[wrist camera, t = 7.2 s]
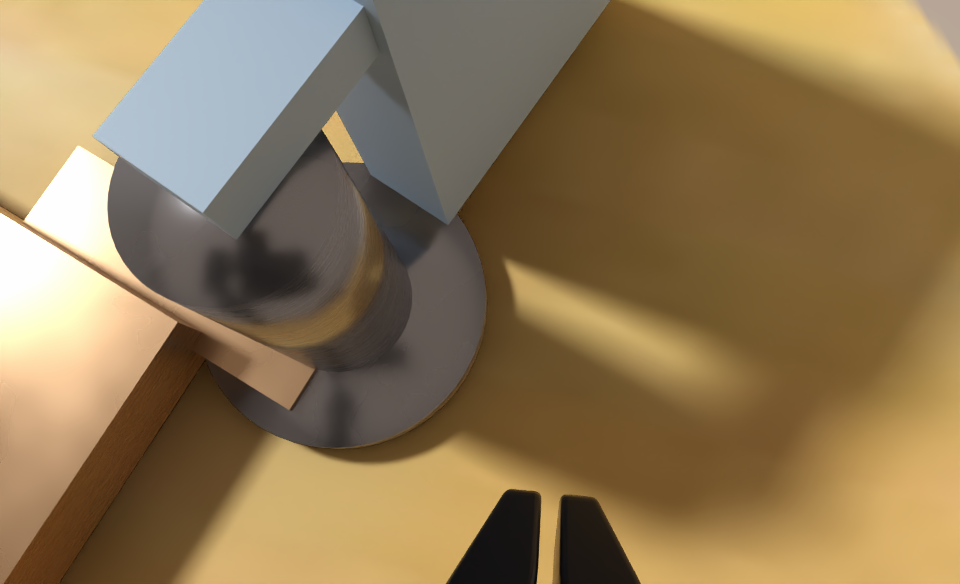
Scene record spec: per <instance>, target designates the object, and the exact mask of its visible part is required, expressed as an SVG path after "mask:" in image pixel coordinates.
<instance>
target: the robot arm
mask: <svg viewBox="0 0 960 584" xmlns="http://www.w3.org/2000/svg"><path fill="white" fill-rule="evenodd" d="M540 517H541V495H540V494H539V493H538V492H536V491H526V490H516V489H509V490H507V491H506V492H505V493H504V494H503V495H502V497H501V498H500V500H499V501H498V503H497V505H496V506H495V508H494V509H493V511H492V512H491V514H490V515H489V517H488V519H487V520H486V522H485V523H484V525H483V526H482V528H481V530H480V531H479V533H478V534H477V536H476V537H475V539H474V540H473V542H472V544H471V545H470V547H469V548H468V550H467V551H466V553H465V555H464V556H463V558H462V559H461V561H460V562H459V564H458V565H457V567H456V569H455V570H454V572H453V573H452V575H451V576H450V578H449V580H448V581H447V583H446V584H537V573H538V558H539V537H540ZM553 584H641V583H640V581H639V579H638V577H637V575H636V573H635V571H634V569H633V568H632V566H631V564H630V562H629V560H628V558H627V556H626V554H625V552H624V550H623V548H622V546H621V544H620V542H619V541H618V539H617V537H616V535H615V533H614V531H613V529H612V527H611V525H610V523H609V521H608V519H607V517H606V516H605V514H604V512H603V510H602V508H601V506H600V504H599V503H598V501H597V500H596V499H595V498H593V497H588V496H578V495H563V496H562V497H561V498H560V502H559V511H558V520H557V529H556V539H555V549H554V565H553Z"/></svg>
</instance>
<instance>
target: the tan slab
mask: <svg viewBox="0 0 960 584" xmlns="http://www.w3.org/2000/svg"><path fill="white" fill-rule="evenodd" d="M486 314H487V294H486V284H485V279H484V274H483V269H482V264H481V261H480V258H479V255H478V252H477V249H476V246H475V244H474V242H473V240H472V238H471V236H470V234H469V232H468V230H467V228H466V226H465V225H464V223H463V222H462V221H461V219H460V218H459V216H458V215H457V214H456V215H455V217H454V218H453V220H452V221H451V222H450V224H449V225H447V224H446V223H444V222H442V221H441V220H439V219H438V218H436V217H435V216H433V215H432V214H430V213H429V212H427V211H426V210H424V209H422V208H421V207H419V206H418V205H416V204H415V203H413V202H412V201H410V200H409V199H407V198H406V197H404V196H402V195H401V194H399V193H398V192H396V191H395V190H393V189H392V188H390V187H389V186H387V185H386V184H384V183H383V182H381V181H379V180H378V179H376V178H375V177H373V176H372V175H371V174H370V172H369V170H368V169H367V167H366V165H365V163H348V162H346V163H342V162H341V160H340V158H339V157H338V155H337V153H336V152H335V150H334V148H333V147H332V145H331V144H330V142H329V140H328V139H327V137H326V135H325V134H324V132H323V131H322V129H321V130H320V132H319V133H318V134H317V136H316V137H315V138H314V140H313V141H312V142H311V144H310V145H309V146H308V147H307V149H306V150H305V151H304V153H303V154H302V155H301V157H300V158H299V159H298V160H297V162H296V163H295V164H294V166H293V167H292V168H291V170H290V171H289V172H288V173H287V175H286V176H285V177H284V179H283V180H282V181H281V183H280V184H279V185H278V186H277V188H276V189H275V190H274V192H273V193H272V194H271V196H270V197H269V198H268V199H267V201H266V202H265V203H264V205H263V206H262V207H261V209H260V210H259V211H258V213H257V214H256V215H255V216H254V218H253V219H252V220H251V222H250V223H249V224H248V226H247V227H246V228H245V229H244V231H243V232H242V233H241V235H240V236H239V237H238V239H237V240H236V239H235V238H233V237H232V236H231V235H229V234H228V233H226V232H225V231H223V230H222V229H221V228H219V227H218V226H216V225H215V224H213V223H212V222H210V221H209V220H208V219H206V218H205V217H203V216H202V215H200V214H199V213H197V212H196V211H195V210H193V209H192V208H190V207H189V206H187V205H186V204H185V203H183V202H182V201H180V200H179V199H177V198H176V197H174V196H173V195H172V194H170V193H169V192H167V191H166V190H164V189H163V188H162V187H160V186H159V185H157V184H156V183H154V182H153V181H151V180H150V179H149V178H147V177H146V176H144V175H143V174H141V173H140V172H139V171H137V170H136V169H134V168H133V167H132V166H130V165H129V164H128V163H127V162H125V161H124V160H123V159H121V158H120V157H119V158H118V160H117V162H116V164H115V167H114V166H112V165H110V164H108V163H107V162H105V161H103V160H102V159H100V158H98V157H96V156H95V155H93V154H91V153H90V152H88V151H86V150H84V149H83V148H81V147H79V146H77V148H76V149H75V151H74V152H73V153H72V155H71V156H70V158H69V159H68V160H67V162H66V163H65V165H64V166H63V167H62V169H61V170H60V171H59V173H58V174H57V176H56V177H55V178H54V180H53V181H52V183H51V184H50V185H49V187H48V188H47V190H46V191H45V192H44V194H43V195H42V196H41V198H40V199H39V201H38V202H37V203H36V205H35V206H34V208H33V209H32V210H31V212H30V213H29V215H28V216H27V217H26V219H25V220H23V219H21V218H19V217H18V216H16V215H14V214H13V213H11V212H10V211H8V210H6V209H5V208H3V207H1V206H0V584H59V582H60V581H61V579H62V578H63V576H64V575H65V573H66V572H67V570H68V569H69V567H70V566H71V564H72V563H73V561H74V559H75V558H76V556H77V555H78V553H79V552H80V550H81V549H82V547H83V546H84V544H85V543H86V541H87V540H88V538H89V537H90V535H91V533H92V532H93V530H94V529H95V527H96V526H97V524H98V523H99V521H100V520H101V518H102V517H103V515H104V514H105V512H106V511H107V509H108V507H109V506H110V504H111V503H112V501H113V500H114V498H115V497H116V495H117V494H118V492H119V491H120V489H121V488H122V486H123V485H124V483H125V481H126V480H127V478H128V477H129V475H130V474H131V472H132V471H133V469H134V468H135V466H136V465H137V463H138V462H139V460H140V459H141V457H142V455H143V454H144V452H145V451H146V449H147V448H148V446H149V445H150V443H151V442H152V440H153V439H154V437H155V436H156V434H157V433H158V431H159V429H160V428H161V426H162V425H163V423H164V422H165V420H166V419H167V417H168V416H169V414H170V413H171V411H172V410H173V408H174V407H175V405H176V403H177V402H178V400H179V399H180V397H181V396H182V394H183V393H184V391H185V390H186V388H187V387H188V385H189V384H190V382H191V381H192V379H193V377H194V376H195V374H196V373H197V371H198V370H199V368H200V367H201V365H202V364H203V362H204V361H205V360H206V362H207V365H208V367H209V370H210V372H211V374H212V376H213V377H214V379H215V381H216V383H217V385H218V386H219V388H220V389H221V391H222V392H223V393H224V395H225V396H226V397H227V398H228V400H229V401H230V402H231V403H232V404H233V405H234V406H235V407H236V408H237V409H238V410H239V411H240V412H241V413H242V414H243V415H244V416H245V417H247V418H248V419H249V420H251V421H252V422H253V423H255V424H256V425H257V426H259V427H261V428H262V429H264V430H266V431H268V432H270V433H272V434H274V435H275V436H278V437H281V438H283V439H286V440H289V441H292V442H294V443H299V444H304V445H308V446H313V447H321V448H334V449H347V448H360V447H365V446H370V445H375V444H379V443H382V442H385V441H388V440H391V439H394V438H397V437H399V436H401V435H403V434H405V433H407V432H409V431H411V430H413V429H414V428H416V427H417V426H419V425H420V424H422V423H423V422H425V421H426V420H428V419H429V418H431V417H432V416H433V415H434V414H435V413H436V412H437V411H439V410H440V409H441V408H442V407H443V406H444V405H445V404H446V403H447V402H448V401H449V400H450V398H451V397H452V396H453V395H454V394H455V393H456V392H457V390H458V389H459V387H460V386H461V384H462V383H463V381H464V380H465V378H466V377H467V375H468V373H469V371H470V369H471V367H472V365H473V364H474V362H475V360H476V357H477V354H478V351H479V348H480V346H481V343H482V339H483V334H484V329H485V325H486Z"/></svg>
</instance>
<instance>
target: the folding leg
mask: <svg viewBox="0 0 960 584" xmlns="http://www.w3.org/2000/svg"><path fill="white" fill-rule="evenodd" d="M609 2H610V0H204V1H203V2H202V3H201V4H200V6H199V7H198V8H197V9H196V10H195V12H194V13H193V14H192V15H191V17H190V18H189V19H188V20H187V21H186V23H185V24H184V25H183V26H182V28H181V29H180V30H179V31H178V32H177V34H176V35H175V36H174V37H173V38H172V40H171V41H170V42H169V43H168V45H167V46H166V47H165V48H164V49H163V51H162V52H161V53H160V54H159V56H158V57H157V58H156V59H155V60H154V62H153V63H152V64H151V65H150V66H149V68H148V69H147V70H146V71H145V73H144V74H143V75H142V76H141V77H140V79H139V80H138V81H137V82H136V84H135V85H134V86H133V87H132V88H131V90H130V91H129V92H128V93H127V94H126V96H125V97H124V98H123V99H122V101H121V102H120V103H119V104H118V105H117V107H116V108H115V109H114V110H113V112H112V113H111V114H110V115H109V116H108V118H107V119H106V120H105V121H104V122H103V124H102V125H101V126H100V127H99V129H98V130H97V131H96V132H95V133H94V135H93V137H94V138H95V139H97V140H98V141H99V142H101V143H102V144H103V145H104V146H106V147H107V148H108V149H110V150H111V151H112V152H114V153H115V154H116V155H117V156H119V157H120V158H121V159H123V160H124V161H125V162H127V163H128V164H129V165H130V166H132V167H133V168H134V169H136V170H137V171H139V172H140V173H141V174H143V175H144V176H146V177H147V178H149V179H150V180H151V181H153V182H154V183H156V184H157V185H159V186H160V187H162V188H163V189H164V190H166V191H167V192H169V193H170V194H172V195H173V196H174V197H176V198H177V199H179V200H180V201H182V202H183V203H185V204H186V205H187V206H189V207H190V208H192V209H193V210H195V211H196V212H197V213H199V214H200V215H202V216H203V217H205V218H206V219H208V220H209V221H210V222H212V223H213V224H215V225H216V226H218V227H219V228H221V229H222V230H223V231H225V232H226V233H228V234H229V235H231V236H232V237H233V238H235V239H236V240H237V239H238V237H239V236H240V235H241V233H242V232H243V231H244V229H245V228H246V227H247V226H248V224H249V223H250V222H251V220H252V219H253V218H254V216H255V215H256V214H257V213H258V211H259V210H260V209H261V207H262V206H263V205H264V203H265V202H266V201H267V199H268V198H269V197H270V196H271V194H272V193H273V192H274V190H275V189H276V188H277V186H278V185H279V184H280V183H281V181H282V180H283V179H284V177H285V176H286V175H287V173H288V172H289V171H290V170H291V168H292V167H293V166H294V164H295V163H296V162H297V160H298V159H299V158H300V157H301V155H302V154H303V153H304V151H305V150H306V149H307V147H308V146H309V145H310V144H311V142H312V141H313V140H314V138H315V137H316V136H317V134H318V133H319V132H320V130H321V129H322V128H323V127H324V125H325V124H326V123H327V121H328V120H329V119H330V117H331V116H332V115H333V114H334V112H335V111H337V113H338V115H339V117H340V118H341V120H342V122H343V124H344V126H345V128H346V130H347V131H348V133H349V135H350V137H351V139H352V141H353V143H354V144H355V146H356V148H357V150H358V152H359V154H360V156H361V157H362V159H363V161H364V163H365V165H366V167H367V169H368V170H369V172H370V174H371V175H372V176H373V177H375V178H376V179H378V180H379V181H381V182H383V183H384V184H386V185H387V186H389V187H390V188H392V189H393V190H395V191H396V192H398V193H399V194H401V195H402V196H404V197H406V198H407V199H409V200H410V201H412V202H413V203H415V204H416V205H418V206H419V207H421V208H422V209H424V210H426V211H427V212H429V213H430V214H432V215H433V216H435V217H436V218H438V219H439V220H441V221H442V222H444V223H446V224H447V225H449V224H450V222H451V221H452V220H453V218H454V217H455V215H456V214H457V213H458V211H459V210H460V208H461V207H462V206H463V204H464V203H465V201H466V200H467V199H468V197H469V196H470V195H471V193H472V192H473V190H474V189H475V188H476V186H477V185H478V183H479V182H480V181H481V179H482V178H483V177H484V175H485V174H486V172H487V171H488V170H489V168H490V167H491V165H492V164H493V163H494V161H495V160H496V159H497V157H498V156H499V154H500V153H501V152H502V150H503V149H504V147H505V146H506V145H507V143H508V142H509V140H510V139H511V138H512V136H513V135H514V134H515V132H516V131H517V129H518V128H519V127H520V125H521V124H522V122H523V121H524V120H525V118H526V117H527V116H528V114H529V113H530V111H531V110H532V109H533V107H534V106H535V104H536V103H537V102H538V100H539V99H540V97H541V96H542V95H543V93H544V92H545V91H546V89H547V88H548V86H549V85H550V84H551V82H552V81H553V79H554V78H555V77H556V75H557V74H558V73H559V71H560V70H561V68H562V67H563V66H564V64H565V63H566V61H567V60H568V59H569V57H570V56H571V55H572V53H573V52H574V50H575V49H576V48H577V46H578V45H579V43H580V42H581V41H582V39H583V38H584V36H585V35H586V34H587V32H588V31H589V30H590V28H591V27H592V25H593V24H594V23H595V21H596V20H597V18H598V17H599V16H600V14H601V13H602V12H603V10H604V9H605V7H606V6H607V5H608V3H609Z"/></svg>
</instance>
